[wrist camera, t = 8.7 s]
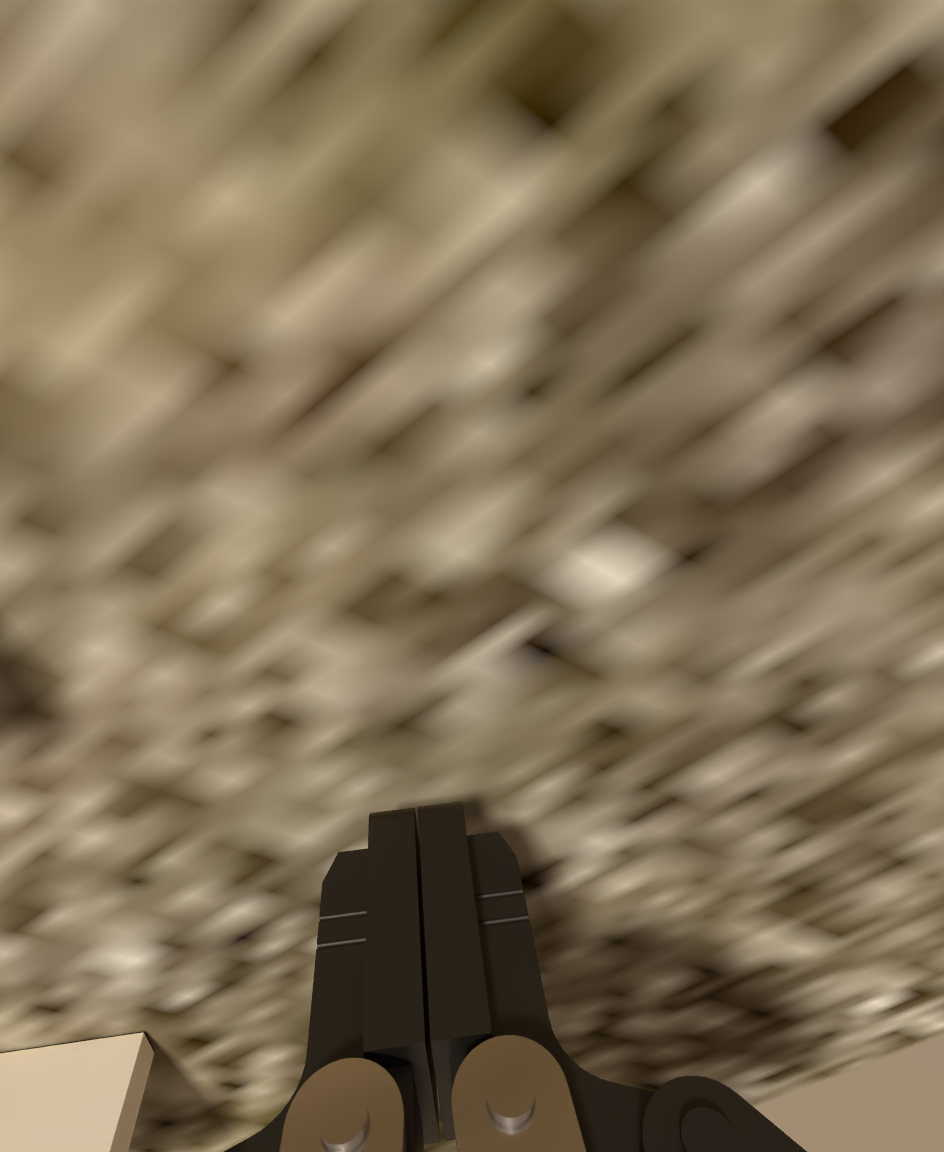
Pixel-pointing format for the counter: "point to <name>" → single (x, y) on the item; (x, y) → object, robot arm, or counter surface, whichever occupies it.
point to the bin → (73, 1095)
